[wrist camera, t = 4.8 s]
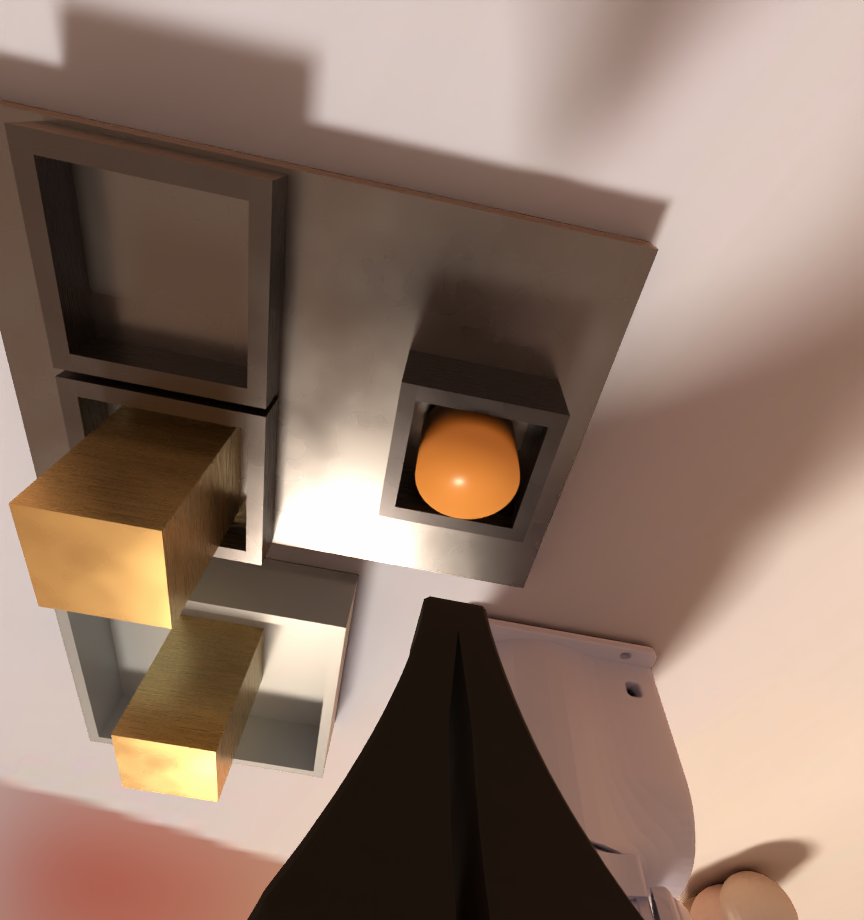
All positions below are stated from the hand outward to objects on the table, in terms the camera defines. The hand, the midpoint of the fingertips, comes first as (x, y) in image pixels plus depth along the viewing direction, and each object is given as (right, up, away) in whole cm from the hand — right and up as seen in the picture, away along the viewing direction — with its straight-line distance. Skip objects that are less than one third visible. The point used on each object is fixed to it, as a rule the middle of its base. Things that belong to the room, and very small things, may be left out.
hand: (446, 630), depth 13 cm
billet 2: (-11, -5, +15) cm, 19 cm away
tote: (-11, -5, +15) cm, 19 cm away
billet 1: (-10, +4, +8) cm, 13 cm away
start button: (+1, +5, +6) cm, 8 cm away
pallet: (-5, +7, +7) cm, 11 cm away
